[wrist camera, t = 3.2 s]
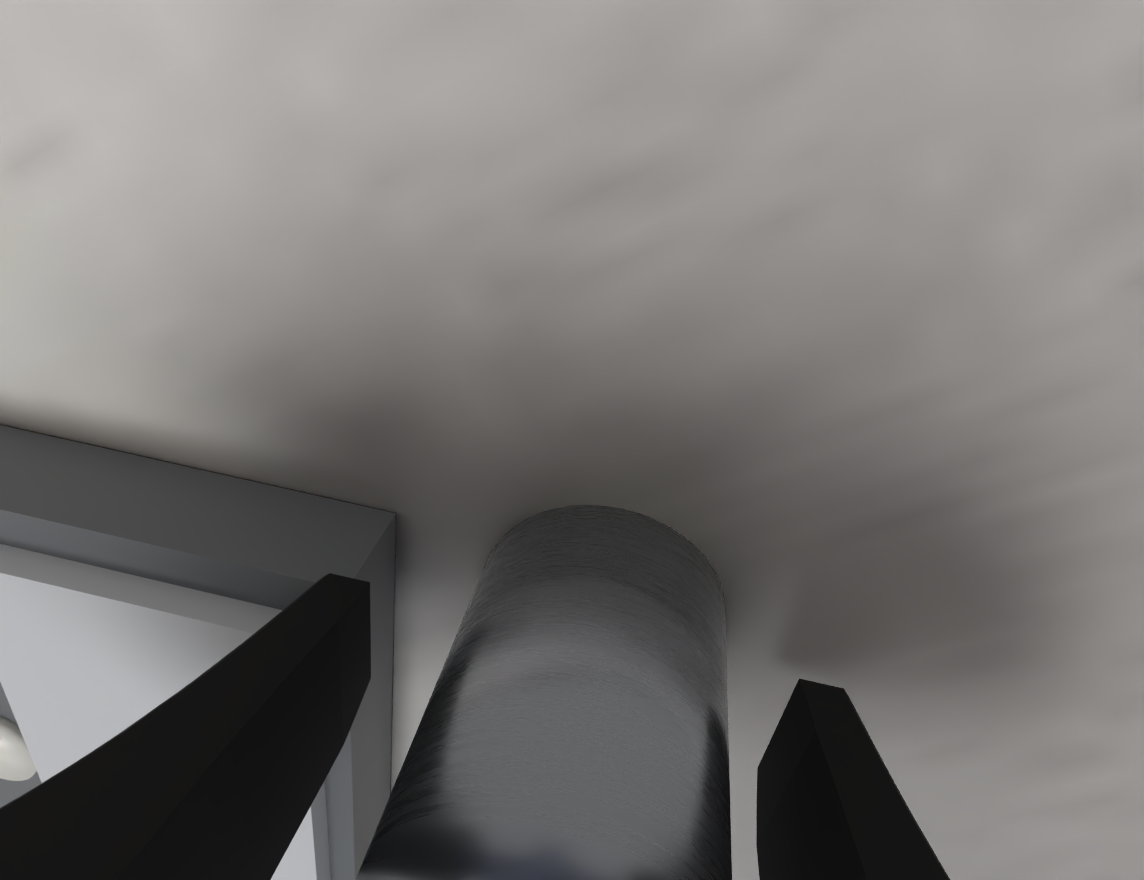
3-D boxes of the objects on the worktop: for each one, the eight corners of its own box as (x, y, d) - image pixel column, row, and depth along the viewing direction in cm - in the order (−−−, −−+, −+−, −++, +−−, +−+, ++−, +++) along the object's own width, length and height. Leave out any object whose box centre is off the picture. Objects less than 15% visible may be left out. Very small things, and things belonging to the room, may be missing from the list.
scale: (395, 513, 11) (331, 614, 9) (387, 896, 18) (348, 1005, 16) (-65, 410, 12) (-216, 487, 10) (86, 817, 18) (10, 913, 16)
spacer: (755, 538, 11) (786, 887, 6) (692, 712, 13) (682, 1063, 8) (493, 480, 11) (353, 778, 7) (474, 660, 13) (357, 974, 9)
